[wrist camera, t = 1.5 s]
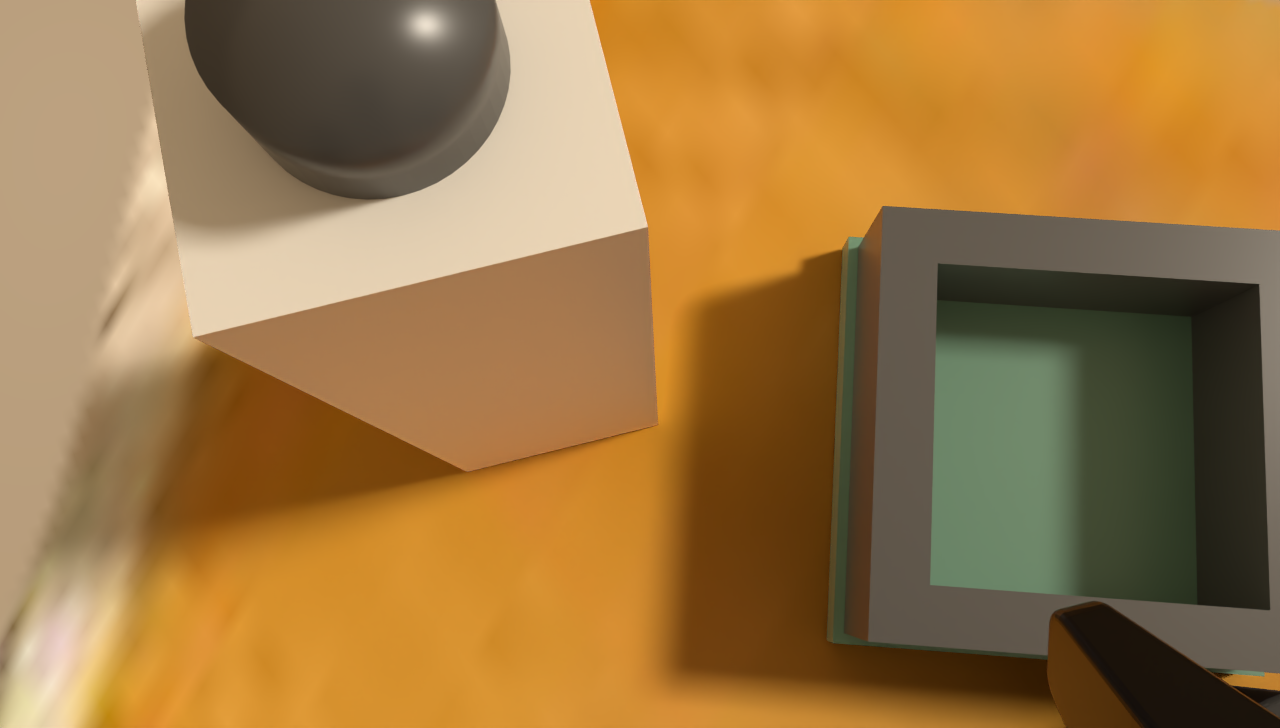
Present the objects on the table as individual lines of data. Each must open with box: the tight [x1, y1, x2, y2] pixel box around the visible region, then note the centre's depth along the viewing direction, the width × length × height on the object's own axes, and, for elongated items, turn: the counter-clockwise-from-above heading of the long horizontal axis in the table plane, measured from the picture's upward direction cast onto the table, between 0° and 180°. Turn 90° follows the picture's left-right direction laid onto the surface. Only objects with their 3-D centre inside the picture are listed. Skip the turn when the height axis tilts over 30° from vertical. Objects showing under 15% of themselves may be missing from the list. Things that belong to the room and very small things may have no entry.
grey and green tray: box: [827, 206, 1280, 676], centre depth 20 cm, size 8×8×3 cm
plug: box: [136, 0, 658, 472], centre depth 15 cm, size 4×4×14 cm
